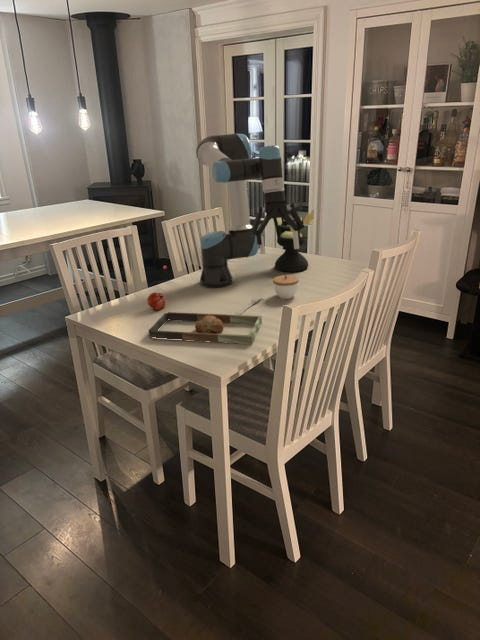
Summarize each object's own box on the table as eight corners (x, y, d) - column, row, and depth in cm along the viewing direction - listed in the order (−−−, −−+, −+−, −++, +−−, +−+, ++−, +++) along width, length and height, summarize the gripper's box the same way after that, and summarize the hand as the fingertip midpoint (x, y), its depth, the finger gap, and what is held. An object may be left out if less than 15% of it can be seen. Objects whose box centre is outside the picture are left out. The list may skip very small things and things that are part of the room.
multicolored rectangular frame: (166, 319, 188) (165, 312, 187) (261, 323, 180) (261, 315, 178) (148, 339, 172) (147, 331, 171) (252, 344, 164) (251, 336, 162)
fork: (233, 321, 190) (232, 314, 188) (260, 298, 205) (259, 292, 203) (239, 322, 188) (238, 316, 187) (265, 299, 203) (265, 293, 202)
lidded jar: (297, 301, 198) (297, 279, 195) (271, 300, 201) (271, 279, 197) (299, 292, 208) (299, 271, 204) (275, 291, 210) (274, 271, 206)
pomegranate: (146, 316, 198) (157, 306, 191) (140, 300, 199) (150, 290, 192) (161, 312, 203) (172, 302, 196) (155, 297, 204) (165, 286, 197)
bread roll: (201, 346, 173) (203, 332, 167) (190, 327, 178) (191, 312, 173) (225, 340, 177) (228, 325, 171) (214, 320, 182) (216, 306, 177)
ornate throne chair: (302, 275, 229) (302, 177, 211) (259, 271, 238) (255, 177, 220) (314, 264, 244) (314, 172, 226) (273, 260, 253) (271, 172, 235)
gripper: (244, 193, 164) (252, 255, 167) (309, 187, 171) (315, 246, 175) (237, 196, 171) (244, 255, 174) (300, 189, 178) (305, 247, 182)
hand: (280, 251), depth 175 cm, fingers open, 13 cm apart
